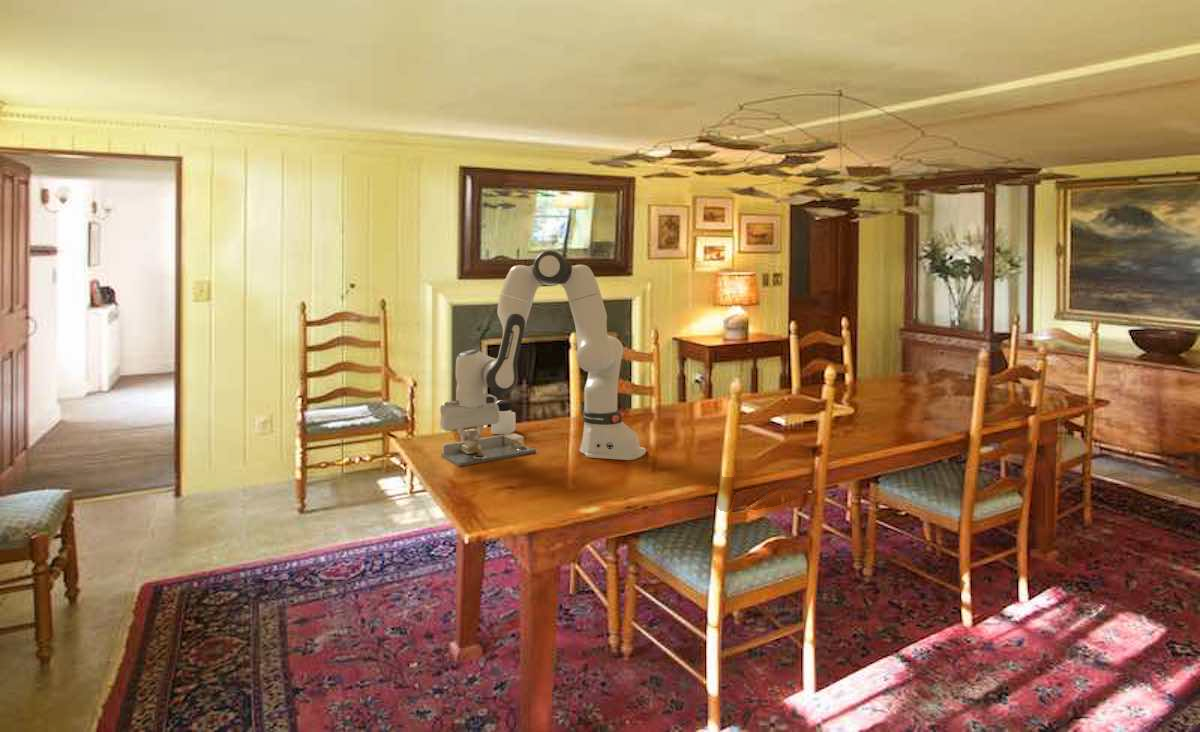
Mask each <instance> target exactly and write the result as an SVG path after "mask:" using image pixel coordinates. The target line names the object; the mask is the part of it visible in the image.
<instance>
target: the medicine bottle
mask: <svg viewBox="0 0 1200 732" xmlns="http://www.w3.org/2000/svg"><path fill="white" fill-rule="evenodd" d="M496 404H497V405H498V407H499V414H500V420H499V422H498V423H496V424H490V426H491V427H490V430H491V431H490V433H491V434H492V435H503V434H510V433H515V432H516V430H517V429H516V428H517V426H516V411H515V412H514V411H512V402H511V401H510V400H508V399H501V400H497V402H496Z"/></svg>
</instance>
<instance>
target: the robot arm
mask: <svg viewBox="0 0 1200 732" xmlns="http://www.w3.org/2000/svg"><path fill="white" fill-rule="evenodd" d="M597 281H598V280H597V278H596V277H595V275H594V272H593V271H592V269H591V268H590V267H589V266H588V265H585V264H576V265H572V264H571V263H570V262H569V261H568V260H567V259H566V258H565V257H564V256H563V255H562V254H561V253H559V252H557V251H555V250H545V251H542V252H540V253H539V254H538V255H537V256H536V257H535V258H534V260H533V264H532V265H529V266H528V265H523V264H518V265H514V266H512V267H511V268H510V269H509V271H508V273H507V274H506V277H505V280H504V282H503V284H502V287H501V291H500V293H499V297H498V302H497V311H496V313H497V316H498V319H499V321H500V324H501V327H502V338H501V342H500V346H499V351H498V356H497V357H496V358H495V357H491V356H490V355H487V354H485V353H484V352H482V351H480V350H479V349H469V350H465V351H462V352H460V353H458V355H457V356H456V360H455V361H456V362H455V380H456V389H455V393H456V394H455V400H452V401H445V402H444V403H443V404H441V406H440V408H439V409H440V410H439V412H440V421H439V422H440V423H439V424H440V428H441V429H442V430H444V431H447V432H448V431H455V430H456V431H457V433H458V434H459V435H460V442H461V441H467V436H466V435H464V434H463V431H464V430H465V429H467V428H468V429H469V428H475V427H476V428H477V431H478V439H480V438H482V437H481V434H483V433H482V432H483V430H484V428H485V427H484V426H488V425H491V424H496V423H498V422H499V420H500V414H499V407H498V405H497V404H496V402H497V401H498V397H496V396H494V395H492V394H489V393H486V392H484V388H485V387H486V388H487V387H488V388H489V390H490V391H491V392H493V393H494V394H496V395H507V394H510V393H511V392H513V390H515V389H516V387H517V385H518V384H519V383H518V382H519V374H518V360H519V355H520V351H521V347H522V342H523V337H524V332H525V329H526V325H527V323H528V322H527V321H528V320H529V316H530V313H531V309H532V306H533V303H534V298H535V296H536V292H537V291H538V289H539V288H540V287H554V286H558V285H560V286H561V287H562V289H564V292H565V294H566V297H567V301H568V304H569V308H570V311H571V315H572V318H573V322H574V327H575V338H576V344H577V350H576V351H577V352H576V362H577V363H576V364H577V365H578V366H579V368H580V369H581V370H583V371H585V372H586V373H587V372H588V373H587V378H586V382H585V385H584V393H583V394H584V401H583V402H584V409H583V411H582V412H583V413H582V414H583V415H582V424H583V433H582V440H581V444H580V447H579V452H580V453H582V454H584V455H585V457H586V458H592V459H593V458H594V459H605V460H607V459H609V460H619V461H621V460H622V461H632V460H637V459H639V458H641V457H643V456H645V454H646V453H647V450H646V447H643V446H640V439H639V436H638V433H636V432H635V431H634V430H633V429H631V427H629V426H628V425H626V423H624V422H623V417H624V416H625V415H624V414H625V412H620V411H619V410H618V383H619V378H620V372H621V364H622V357H623V355H624V346H623V344H622V342H621V340H619V338H617V337H615V336H612V335H609V334H608V329H607V327H608V325H607V324H608V323H607V321H608V315H607V311H606V307H605V304H604V300H603V297H602V293H601V290H600V287H599V284H598V282H597Z"/></svg>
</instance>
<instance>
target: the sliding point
mask: <svg viewBox="0 0 1200 732" xmlns="http://www.w3.org/2000/svg"><path fill="white" fill-rule="evenodd" d="M463 434H464V435H466V436H467V441H464V444H463V445H461V451H463V452H465V453H467V454H470V453H476V452H478V455H482V451H481V445H479V441H478V429H477V430H476V429H475V428H470V429H469V428H468V429H464V431H463Z"/></svg>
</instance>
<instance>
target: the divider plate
mask: <svg viewBox="0 0 1200 732" xmlns="http://www.w3.org/2000/svg"><path fill="white" fill-rule="evenodd" d="M478 441H479V445H481V451H482V455H478V452H476V453H470V454H467V453H465V452H463V451H461V445H463V444H464V441H461V440H460V441H457V442H451V443H449V442H448V443H444V444H442V445H441V446H442V453H440V454H441V455H440V457H442V458H444V459H445V460H446V461H449V462H450V463H452V464H454V465H455V466H457V465H458V467H464V466H463V465H465V466H468V465H469V466H470V465H475V463H476V464H480V463H486V462H492V461H498V460H503V458H504V459H508V458H513V457H514V456H515V457H519V456H526V455H530V454H536V453H537V451H536V449H534V448H532V447H531V446H528V445H525V442H524V436H523V435H520V434H517V433H516V432H512V433H511V434H505V435H503V434H498V435H494V436H488V437H481V438H480V439H478ZM497 459H498V460H497Z"/></svg>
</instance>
